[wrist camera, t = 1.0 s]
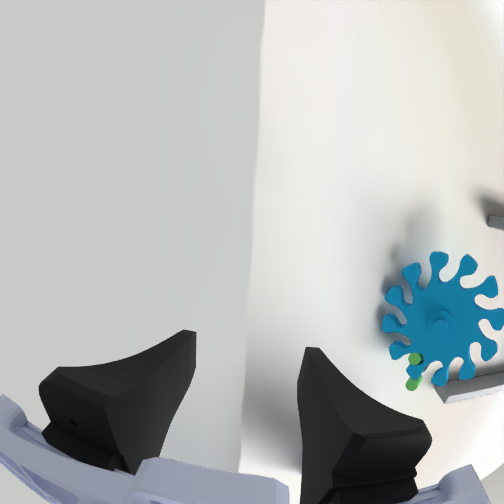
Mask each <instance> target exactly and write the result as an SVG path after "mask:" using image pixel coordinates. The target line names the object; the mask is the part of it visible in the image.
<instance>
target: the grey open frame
mask: <svg viewBox="0 0 504 504" xmlns="http://www.w3.org/2000/svg"><path fill="white" fill-rule="evenodd" d="M488 226H489V227H493V228H496V229H499V230H502V231H504V217H499V216H493V215H489V221H488ZM435 390H436V392H437V393H438V395H439V396H440V398H441V399H442V401H443V403H444V404H448V403H454V402H459V401H464V400H469V399H473V398H477V397H482V396H486V395H490V394H493V393H497V392H501V391H504V372H499V373H494V374H489V375H484V376H478V377H473V378H471V379H467V380H460V379H459V380H451V381H447V382H446V384H445V386H444V387H441V386H437V387H436V388H435Z"/></svg>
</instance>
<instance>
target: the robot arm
mask: <svg viewBox="0 0 504 504" xmlns="http://www.w3.org/2000/svg"><path fill="white" fill-rule="evenodd" d="M195 368H196V332H193V331H188V330H182V331H180V332H178V333H177V334H175V335H173V336H171V337H170V338H168V339H166V340H165V341H163V342H161V343H159V344H157V345H155V346H153V347H151V348H149V349H147V350H145V351H143V352H141V353H138V354H136V355H133V356H131V357H128V358H125V359H122V360H118V361H113V362H109V363H105V364H99V365H92V366H82V367H57V368H56V369H55V370H54V371H53V372H52V373H51V374H50V375H49V376H47V377H46V378H45V379H44V380H43V381H42V382H41V383H40V385H39V395H40V398H41V401H42V403H43V405H44V408H45V410H46V412H47V414H48V416H49V418H50V421H51V422H50V423H49V425H48V426H47V427H46V428H45V429H44V430H43V431H42V430H41V429H39V428H38V427H36V426H35V425H33V424H32V423H30V422H29V421H28V420H27V417H26V415H25V413H24V412H23V410H22V409H21V408H20V407H19V405H17V404H16V403H15V402H13V401H12V400H11V399H9V398H8V397H7V396H5V395H4V394H2V395H1V396H0V463H1V464H2V465H3V466H4V467H6V468H7V469H8V470H9V471H10V472H11V473H12V474H14V475H15V476H16V477H17V478H18V479H20V480H21V481H22V482H23V483H24V484H26V485H27V486H28V487H29V488H31V489H32V490H33V491H34V492H36V493H37V494H38V495H40V496H41V497H42V498H44V499H45V500H46V501H48V502H49V503H51V504H289V489H288V486H286V485H285V484H283V483H281V482H279V481H278V480H276V479H274V478H269V477H264V476H259V475H252V474H244V473H236V472H229V471H223V470H217V469H211V468H206V467H201V466H197V465H192V464H188V463H184V462H180V461H176V460H172V459H165V458H159V455H160V452H161V449H162V446H163V443H164V440H165V437H166V434H167V432H168V429H169V426H170V424H171V421H172V419H173V417H174V415H175V413H176V411H177V409H178V407H179V405H180V403H181V401H182V399H183V398H184V395H185V394H186V391H187V390H188V388H189V386H190V383H191V381H192V378H193V375H194V371H195ZM297 401H298V409H299V417H300V424H301V432H302V443H303V454H302V481H301V495H300V504H490V500H489V498H488V496H487V494H486V492H485V490H484V488H483V486H482V484H481V482H480V480H479V478H478V476H477V474H476V472H475V470H474V468H473V466H472V464H469V465H467V466H464V467H462V468H459V469H456V470H453V471H451V472H449V473H448V474H446V475H445V476H444V477H443V478H442V479H441V480H440V481H439V483H438V484H435V485H432V486H429V487H425V488H422V489H417V486H416V483H415V480H414V477H416V475H417V472H416V469H415V466H416V465H417V464H418V463H419V461H420V460H421V459H422V458H423V456H424V455H425V454H426V453H427V451H428V449H429V448H430V446H431V443H432V437H431V434H430V432H429V431H428V429H427V427H426V425H425V423H424V421H423V420H421V419H418V418H415V417H411V416H408V415H405V414H403V413H400V412H398V411H395V410H393V409H391V408H389V407H387V406H385V405H383V404H381V403H379V402H378V401H376V400H374V399H373V398H371V397H370V396H368V395H367V394H365V393H364V392H363V391H361V390H360V389H359V388H357V387H356V386H355V385H354V384H352V383H351V382H350V381H349V380H348V379H347V378H346V377H345V376H344V375H343V374H342V373H341V372H340V371H339V370H338V369H337V368H336V367H335V366H334V364H333V363H332V362H331V361H330V360H329V359H328V358H327V356H326V355H325V354H324V353H323V352H322V350H321V349H320V348H315V347H306V348H305V353H304V357H303V361H302V365H301V369H300V373H299V377H298V381H297Z"/></svg>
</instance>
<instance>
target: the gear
mask: <svg viewBox="0 0 504 504" xmlns="http://www.w3.org/2000/svg"><path fill="white" fill-rule="evenodd" d="M448 259H449V258H448V254H446V253H444V252H432V253H431V255H430V264H431V268H432V275H431V280H430V283H429V285H428V287H427V288H422V287H421V286H420V285H419V283H418V280H419V277H420V274H421V266H420V264H419V263H413V264H411V265H409V266H406V267H405V268H403V269H402V274H403V276H404V278H405V279H406V280H407V281H408V282H409V284H410V286H411V289H412V293H413V303H412V304H408V303H406V302H405V300H404V293H403V289H402V288H401V287H400V286H399V285H396V286H394V287H393V288H391V289H390V290H389V291H388V293H387V294H386V296H385V300H386V301H387V302H388V303H389V304H393V305H395V306H397V307H398V308H399V309H400V310H401V311H402V312H403V314H404V315H405V317H406V319H407V324H406V325H404V324H401V323H400V322H399V320H398V318H397V317H396V316H395V315H394V314H388V315H386V316H385V317H384V319H383V322H382V329H381V330H382V331H383V332H386V333H390V332H398V333H401V334H403V335H405V336H407V337H408V338H409V339H410V340H411V345H406V344H404V343H403V342H401V341H395V342H394V343H393V344H391V345H390V346H389V351H390V355H391V358H392V359H393V360H397V359H399V358H400V357H402V356H403V355H405V354H408V353H411V354H410V355H409V358H408V360H409V362H410V365H409V366H408V367H407V369H406V371H407V373H408V375H409V376H410V378H409V380H408V381H407V382H406V388H407V389H408V390H410V391H414V390H415V389H416V388H417V387H418V385H419V384H420V382H421V381H422V375H421V373H422V372H424V371H425V370H426V369H427V367H428V366H429V364H430V363H432V362H434V361H440V362H442V364H443V367H442V368H440V369H438V370H437V371H436V372H435V373H434V375H433V377H432V379H431V383H433V384H434V385H437V386H441V387H444V386H445V384H446V382H447V380H448V378H449V365H450V363H451V362H452V360H453V359H454V358H455V357H461V358H462V359H463V360H464V363H463V365H462V366H461V369H460V371H459V379H460V380H467V379H471V378H473V377H474V374H475V371H476V366H475V364H474V363H473V362H472V360H471V357H470V344H471V343H473V342H479V343H480V344H481V357H482V359H483V360H484V361H488V360H490V359H491V358H492V357H493V356H494V355H495V353H496V352H497V347H498V346H497V343H496V342H495V341H494V340H491V339H489V338H487V337H486V336H485V335H484V334H483V333H482V331H481V330H480V328H479V325H478V322H479V321H480V320H481V319H488V320H489V322H490V324H491V326H492V328H493V329H495V330H501V329H502V327H503V325H504V309H503V308H497V309H494V310H487V309H484V308H482V307H480V306H478V305H477V304H476V303H475V300H474V298H475V296H476V295H478V294H483V295H485V296H487V297H489V298H493V297H495V296H497V295H498V286H497V282H496V279H495V276H489V277H487V278H486V279H485V281H484V282H483V283H482V284H480V285H479V286H477V287H474V288H463V287H462V286H461V285H460V278H461V277H462V276H465V275H471V274H473V273H474V272H475V271H476V269H477V266H478V264H477V262H476V261H475V260H474V259H473V258H472V257H471V256H470V255H468V254H466V255H465V256H464V257H463V258H462V259H461V262H460V267H459V270H458V272H457V274H456V275H455V276H454V277H453V278H452V279H451V280H449V281H448V282H443V281H441V280H440V278H439V271H440V270H441V269H442V268H443V267H444V266H445V265H446V264H447V263H448Z"/></svg>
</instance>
